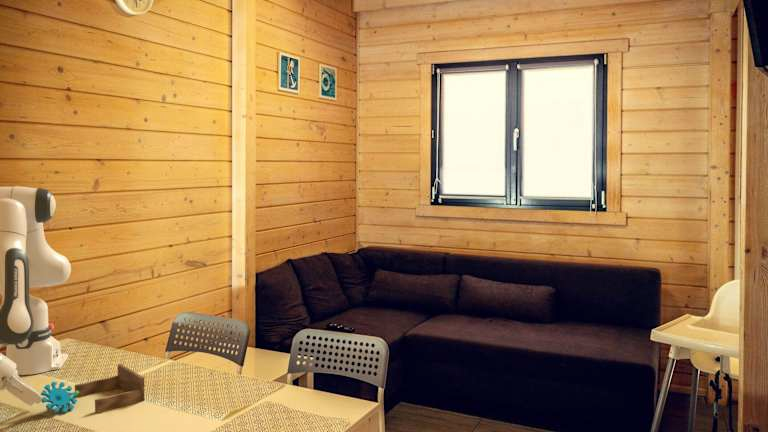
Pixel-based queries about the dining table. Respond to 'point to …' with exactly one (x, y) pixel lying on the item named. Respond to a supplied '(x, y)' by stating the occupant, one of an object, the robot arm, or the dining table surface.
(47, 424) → the dining table surface
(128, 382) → the bay
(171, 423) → the dining table surface
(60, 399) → the teal round spiked piece
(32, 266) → the robot arm
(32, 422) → the dining table surface
